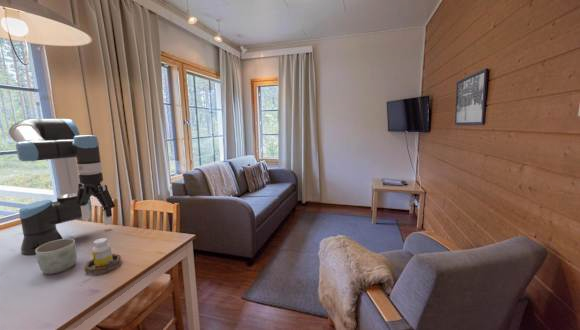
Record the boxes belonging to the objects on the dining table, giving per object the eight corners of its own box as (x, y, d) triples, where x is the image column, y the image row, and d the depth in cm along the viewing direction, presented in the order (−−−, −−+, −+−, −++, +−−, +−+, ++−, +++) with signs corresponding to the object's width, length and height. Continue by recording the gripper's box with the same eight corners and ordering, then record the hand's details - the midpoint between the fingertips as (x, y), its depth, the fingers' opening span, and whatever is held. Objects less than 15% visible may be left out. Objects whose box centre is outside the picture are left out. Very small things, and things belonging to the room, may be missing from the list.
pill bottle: (101, 260, 110) (98, 237, 108) (116, 260, 111) (113, 236, 109) (91, 269, 104) (86, 244, 102) (106, 269, 104) (103, 244, 102)
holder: (78, 271, 104) (77, 266, 103) (108, 257, 115) (107, 251, 115) (98, 277, 100) (97, 272, 99) (127, 261, 111) (126, 256, 111)
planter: (45, 280, 98) (40, 255, 96) (35, 271, 105) (31, 247, 103) (83, 265, 108) (79, 242, 107) (72, 257, 115) (69, 235, 113)
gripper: (60, 172, 101) (68, 221, 105) (102, 177, 93) (109, 229, 97) (80, 169, 108) (87, 214, 112) (121, 173, 100) (127, 222, 104)
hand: (97, 221), depth 104 cm, fingers open, 13 cm apart
